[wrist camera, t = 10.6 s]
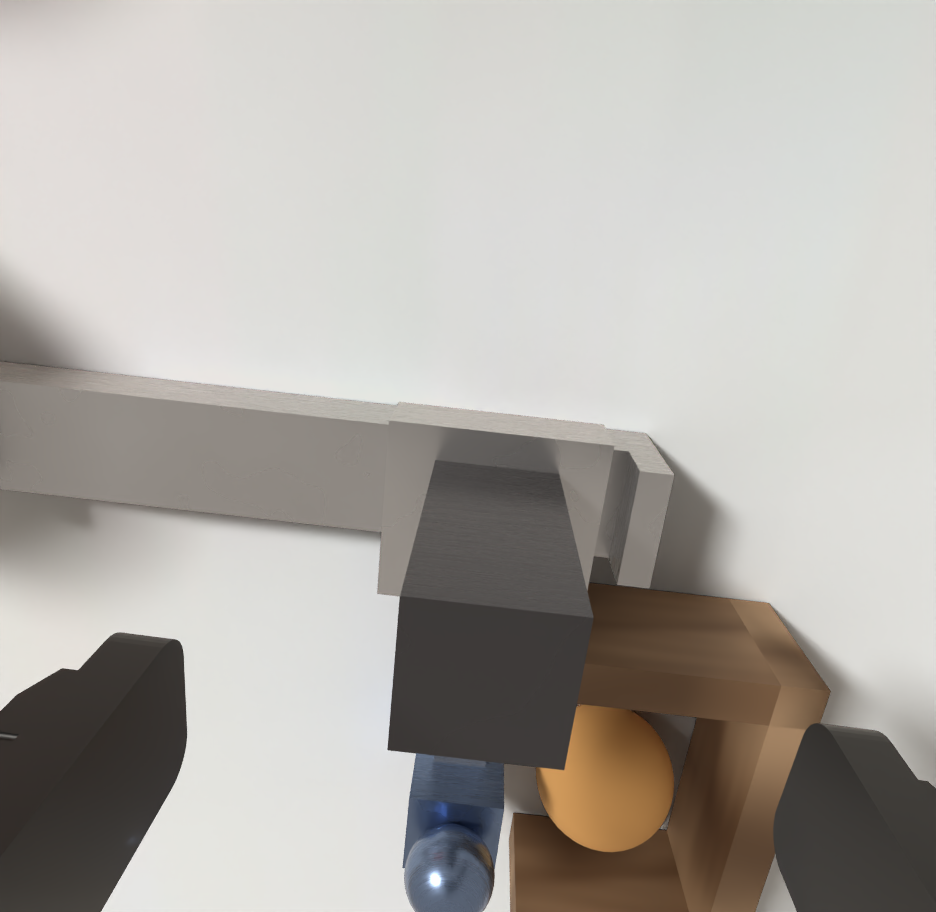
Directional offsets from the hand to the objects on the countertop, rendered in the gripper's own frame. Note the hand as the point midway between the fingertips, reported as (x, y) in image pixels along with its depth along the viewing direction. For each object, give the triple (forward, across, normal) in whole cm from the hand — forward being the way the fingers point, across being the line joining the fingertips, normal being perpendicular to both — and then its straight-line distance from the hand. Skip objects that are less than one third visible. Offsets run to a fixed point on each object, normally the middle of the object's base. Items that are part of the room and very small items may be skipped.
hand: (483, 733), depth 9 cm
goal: (+11, -5, +9) cm, 15 cm away
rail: (+11, +5, +1) cm, 12 cm away
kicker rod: (+10, 0, +4) cm, 11 cm away
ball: (+9, -4, +9) cm, 13 cm away
